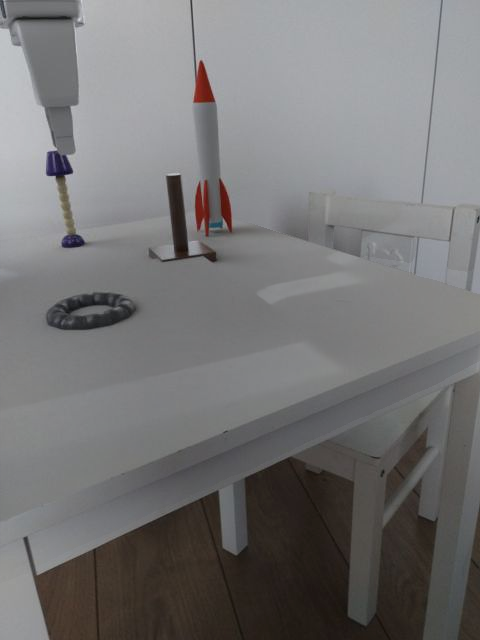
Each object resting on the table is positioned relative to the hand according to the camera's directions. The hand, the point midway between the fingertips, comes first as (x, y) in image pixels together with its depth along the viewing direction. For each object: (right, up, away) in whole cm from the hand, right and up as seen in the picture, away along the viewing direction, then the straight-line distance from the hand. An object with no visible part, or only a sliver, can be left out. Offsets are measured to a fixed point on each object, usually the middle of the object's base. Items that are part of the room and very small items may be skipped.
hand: (64, 150), depth 63 cm
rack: (+9, -7, +31) cm, 33 cm away
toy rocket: (+13, +1, +48) cm, 50 cm away
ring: (+1, -18, +6) cm, 19 cm away
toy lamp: (-14, -2, +44) cm, 46 cm away
